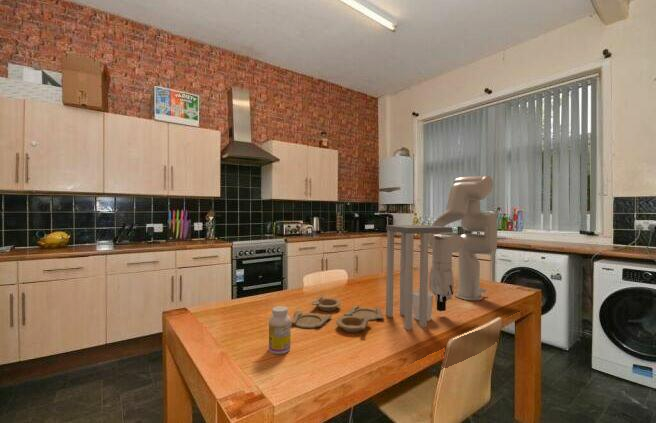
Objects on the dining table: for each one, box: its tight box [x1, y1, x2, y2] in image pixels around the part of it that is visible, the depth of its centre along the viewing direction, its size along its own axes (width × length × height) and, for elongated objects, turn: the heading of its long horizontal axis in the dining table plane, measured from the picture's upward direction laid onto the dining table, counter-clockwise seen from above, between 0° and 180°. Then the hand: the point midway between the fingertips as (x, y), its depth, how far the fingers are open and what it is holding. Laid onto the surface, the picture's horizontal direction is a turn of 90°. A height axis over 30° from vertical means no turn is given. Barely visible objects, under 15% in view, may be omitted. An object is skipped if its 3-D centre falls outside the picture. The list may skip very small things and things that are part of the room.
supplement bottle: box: [268, 305, 292, 355], centre depth 91 cm, size 7×7×13 cm
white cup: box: [412, 290, 434, 322], centre depth 119 cm, size 8×8×10 cm
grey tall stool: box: [385, 224, 453, 331], centre depth 117 cm, size 20×15×37 cm
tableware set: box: [291, 294, 385, 333], centre depth 118 cm, size 35×29×4 cm
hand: (441, 310), depth 122 cm, fingers closed
